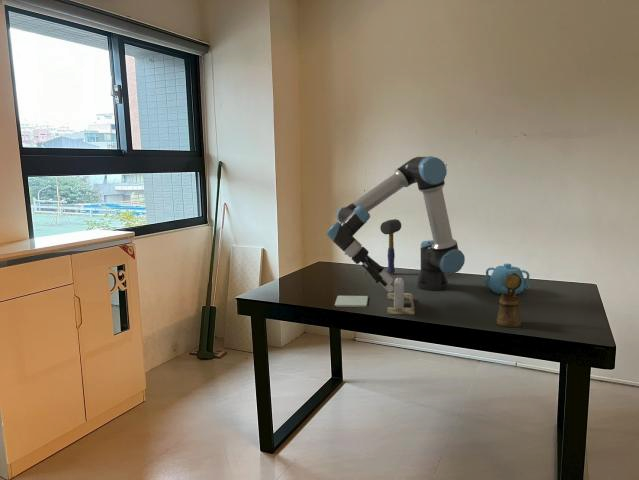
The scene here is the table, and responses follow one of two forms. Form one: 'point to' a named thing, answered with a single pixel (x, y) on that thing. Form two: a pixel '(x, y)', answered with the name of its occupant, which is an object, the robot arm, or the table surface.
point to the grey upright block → (398, 293)
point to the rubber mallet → (390, 240)
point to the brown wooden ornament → (510, 303)
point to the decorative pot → (499, 276)
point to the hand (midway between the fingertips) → (391, 286)
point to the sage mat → (351, 301)
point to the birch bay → (401, 310)
